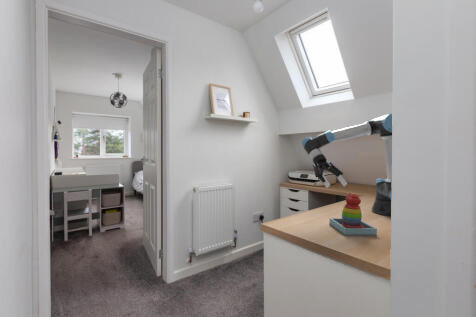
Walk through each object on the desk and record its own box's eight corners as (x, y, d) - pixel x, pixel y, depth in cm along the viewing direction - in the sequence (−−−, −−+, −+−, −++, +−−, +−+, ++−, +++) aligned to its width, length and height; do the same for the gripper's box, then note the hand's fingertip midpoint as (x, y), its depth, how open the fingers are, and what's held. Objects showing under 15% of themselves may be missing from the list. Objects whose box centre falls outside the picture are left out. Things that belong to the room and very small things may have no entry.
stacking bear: (367, 231, 116) (368, 196, 115) (346, 231, 116) (348, 196, 115) (356, 224, 126) (357, 192, 125) (337, 223, 127) (339, 191, 126)
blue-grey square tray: (357, 224, 129) (357, 218, 129) (376, 236, 112) (377, 229, 112) (329, 224, 129) (329, 218, 129) (344, 235, 112) (345, 228, 112)
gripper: (328, 161, 149) (348, 188, 137) (299, 162, 138) (317, 191, 125) (335, 153, 144) (356, 180, 132) (305, 153, 133) (325, 183, 120)
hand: (337, 185), depth 128 cm, fingers open, 13 cm apart
